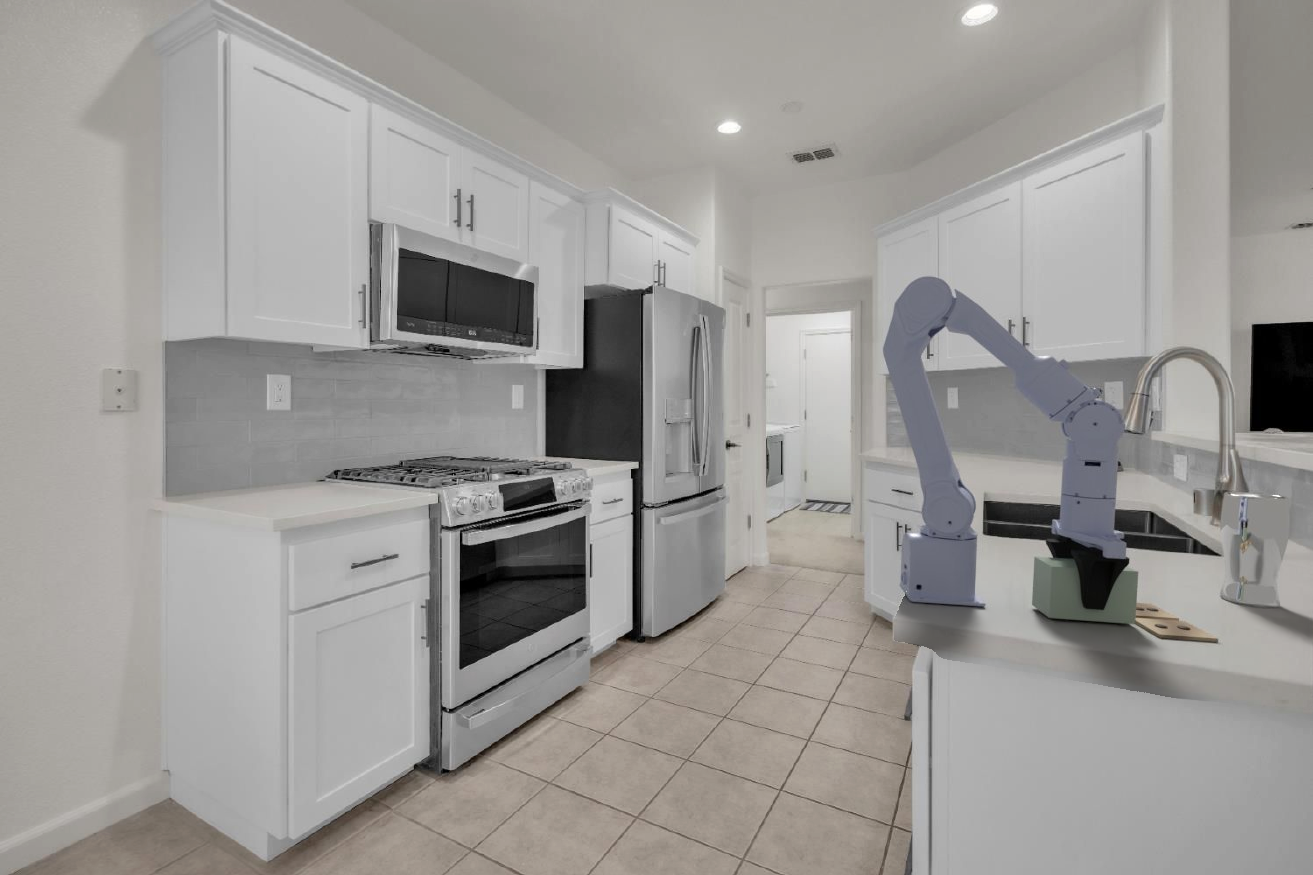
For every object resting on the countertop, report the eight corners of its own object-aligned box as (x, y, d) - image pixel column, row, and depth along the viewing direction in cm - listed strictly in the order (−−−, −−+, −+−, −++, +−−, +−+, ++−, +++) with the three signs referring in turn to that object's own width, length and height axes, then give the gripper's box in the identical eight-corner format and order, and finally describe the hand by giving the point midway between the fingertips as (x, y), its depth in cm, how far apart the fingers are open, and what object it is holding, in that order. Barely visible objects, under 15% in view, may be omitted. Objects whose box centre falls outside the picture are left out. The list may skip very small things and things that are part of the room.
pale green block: (1049, 617, 78) (1051, 566, 77) (1032, 604, 83) (1034, 556, 83) (1135, 623, 76) (1138, 571, 76) (1112, 610, 81) (1115, 561, 81)
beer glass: (1298, 611, 83) (1306, 499, 83) (1238, 606, 85) (1244, 497, 84) (1259, 595, 90) (1266, 492, 89) (1204, 592, 91) (1210, 490, 91)
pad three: (1125, 617, 79) (1125, 613, 79) (1101, 603, 85) (1101, 599, 85) (1178, 621, 78) (1179, 617, 78) (1150, 606, 84) (1150, 602, 84)
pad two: (1159, 637, 73) (1159, 633, 73) (1130, 620, 78) (1130, 616, 78) (1218, 641, 72) (1218, 637, 71) (1184, 624, 77) (1184, 620, 77)
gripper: (1158, 506, 71) (1151, 623, 72) (1093, 489, 85) (1088, 587, 86) (1090, 503, 72) (1083, 618, 73) (1037, 487, 86) (1032, 583, 87)
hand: (1082, 601), depth 79 cm, fingers closed on pale green block, 5 cm apart
